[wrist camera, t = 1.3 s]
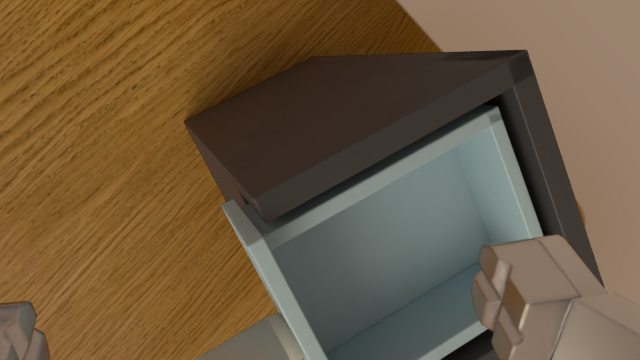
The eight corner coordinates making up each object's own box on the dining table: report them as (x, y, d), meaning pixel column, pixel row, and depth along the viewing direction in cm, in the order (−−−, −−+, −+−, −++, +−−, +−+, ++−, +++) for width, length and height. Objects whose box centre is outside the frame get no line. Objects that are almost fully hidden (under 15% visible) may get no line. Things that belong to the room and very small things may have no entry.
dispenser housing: (183, 121, 43) (252, 198, 19) (313, 55, 45) (527, 49, 21) (250, 245, 46) (382, 447, 22) (368, 179, 48) (608, 298, 24)
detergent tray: (-22, 335, 22) (-71, 423, 16) (437, 88, 25) (517, 94, 20) (106, 506, 24) (99, 629, 19) (503, 260, 28) (589, 306, 23)
